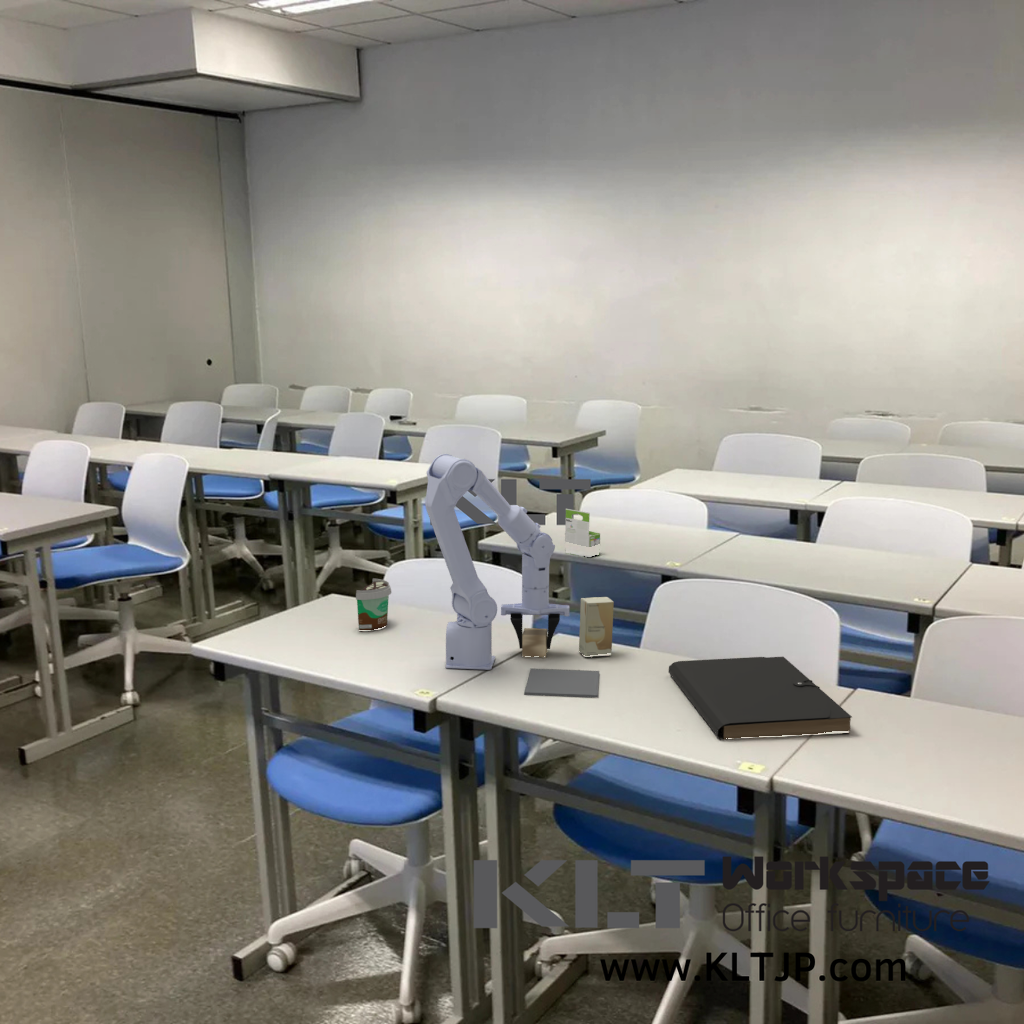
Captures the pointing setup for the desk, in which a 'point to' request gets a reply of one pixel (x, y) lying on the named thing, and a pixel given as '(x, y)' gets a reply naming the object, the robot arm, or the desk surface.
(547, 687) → the charcoal mat
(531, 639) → the maple cube
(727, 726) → the file folder
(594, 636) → the skincare box
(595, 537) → the ink box
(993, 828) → the desk surface
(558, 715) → the desk surface
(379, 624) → the food container
